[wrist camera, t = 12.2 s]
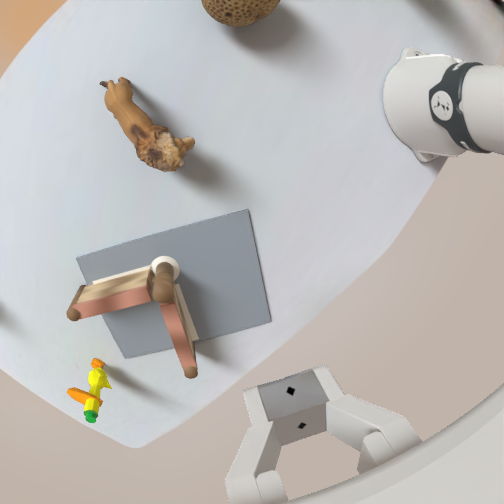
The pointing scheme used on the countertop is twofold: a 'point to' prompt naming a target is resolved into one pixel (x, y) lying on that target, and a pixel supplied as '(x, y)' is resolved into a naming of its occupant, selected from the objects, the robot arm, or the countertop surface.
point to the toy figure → (92, 391)
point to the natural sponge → (239, 10)
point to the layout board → (186, 282)
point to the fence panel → (180, 335)
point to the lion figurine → (145, 130)
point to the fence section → (123, 292)
